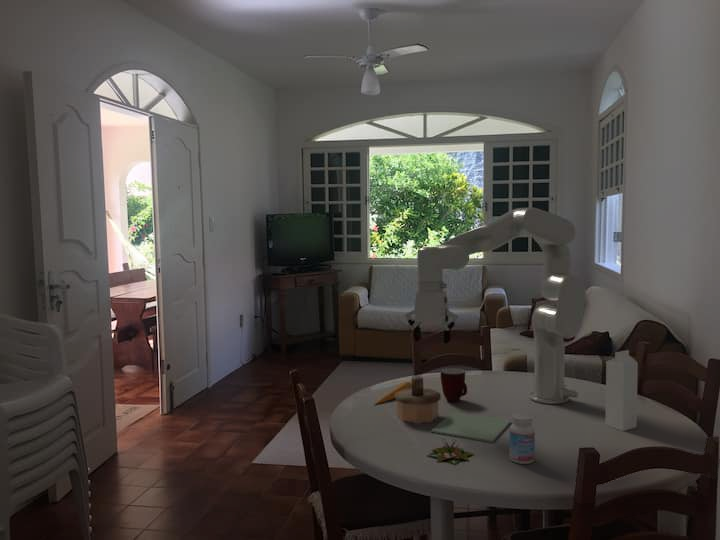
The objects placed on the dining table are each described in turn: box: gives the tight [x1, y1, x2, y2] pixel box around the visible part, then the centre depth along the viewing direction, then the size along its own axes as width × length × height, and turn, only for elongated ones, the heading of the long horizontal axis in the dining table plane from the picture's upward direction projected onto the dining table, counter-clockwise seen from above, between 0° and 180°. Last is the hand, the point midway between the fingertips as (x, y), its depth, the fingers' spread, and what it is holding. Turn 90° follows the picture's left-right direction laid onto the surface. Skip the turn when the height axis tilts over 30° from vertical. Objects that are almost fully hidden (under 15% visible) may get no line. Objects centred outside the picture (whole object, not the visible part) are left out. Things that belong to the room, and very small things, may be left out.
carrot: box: [373, 381, 412, 406], centre depth 204 cm, size 20×4×4 cm, turn 138°
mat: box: [430, 411, 512, 443], centre depth 174 cm, size 18×18×1 cm
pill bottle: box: [509, 413, 536, 465], centre depth 149 cm, size 6×6×11 cm
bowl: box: [396, 400, 439, 424], centre depth 184 cm, size 12×12×6 cm
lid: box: [395, 376, 441, 405], centre depth 184 cm, size 14×14×6 cm
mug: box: [440, 367, 468, 403], centre depth 199 cm, size 10×8×10 cm
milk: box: [605, 349, 639, 432], centre depth 172 cm, size 6×6×22 cm
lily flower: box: [426, 438, 474, 466], centre depth 153 cm, size 12×12×5 cm
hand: (432, 341), depth 185 cm, fingers open, 9 cm apart
